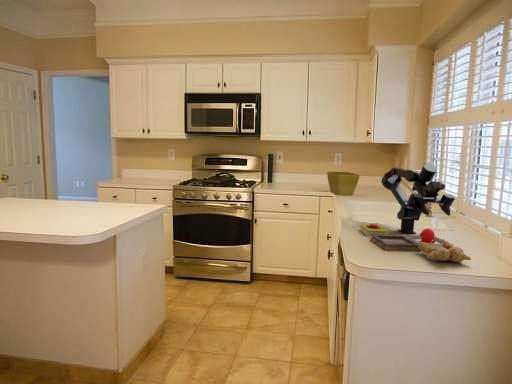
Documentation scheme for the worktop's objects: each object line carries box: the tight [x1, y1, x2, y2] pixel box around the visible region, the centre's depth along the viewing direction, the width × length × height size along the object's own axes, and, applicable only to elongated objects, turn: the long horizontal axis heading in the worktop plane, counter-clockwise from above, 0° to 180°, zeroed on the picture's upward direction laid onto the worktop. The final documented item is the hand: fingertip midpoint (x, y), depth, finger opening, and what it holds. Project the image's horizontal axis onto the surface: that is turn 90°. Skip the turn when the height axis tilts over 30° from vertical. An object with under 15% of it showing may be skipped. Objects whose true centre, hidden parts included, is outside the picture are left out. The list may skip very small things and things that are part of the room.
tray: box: [402, 234, 455, 247], centre depth 162 cm, size 15×15×2 cm
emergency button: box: [359, 223, 388, 238], centre depth 173 cm, size 9×4×15 cm
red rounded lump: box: [419, 228, 437, 244], centre depth 161 cm, size 8×6×6 cm
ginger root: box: [418, 238, 472, 263], centre depth 138 cm, size 16×16×8 cm
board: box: [369, 234, 422, 252], centre depth 155 cm, size 15×15×2 cm
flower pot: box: [326, 171, 361, 196], centre depth 297 cm, size 19×19×17 cm
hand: (438, 214), depth 154 cm, fingers open, 9 cm apart
